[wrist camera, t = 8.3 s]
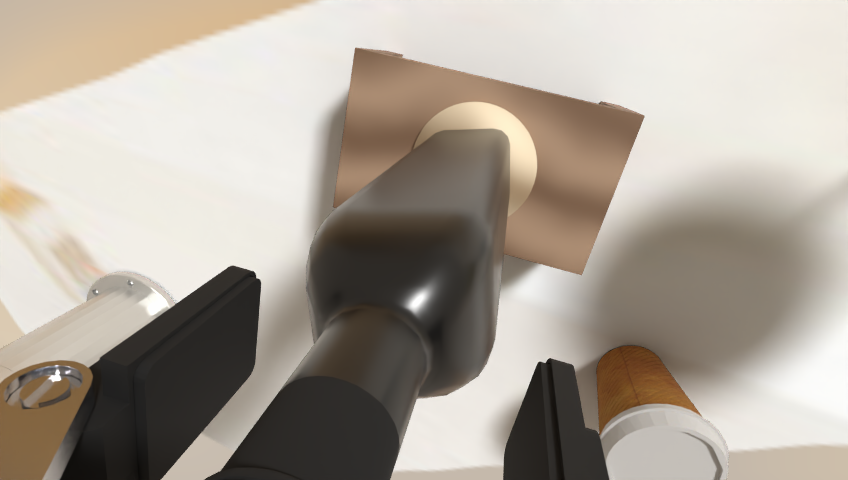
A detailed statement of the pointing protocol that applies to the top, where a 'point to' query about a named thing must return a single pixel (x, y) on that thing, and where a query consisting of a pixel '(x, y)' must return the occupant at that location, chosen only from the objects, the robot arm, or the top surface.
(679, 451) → the disposable coffee cup
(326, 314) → the wine bottle
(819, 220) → the top surface
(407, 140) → the brown rectangular block
